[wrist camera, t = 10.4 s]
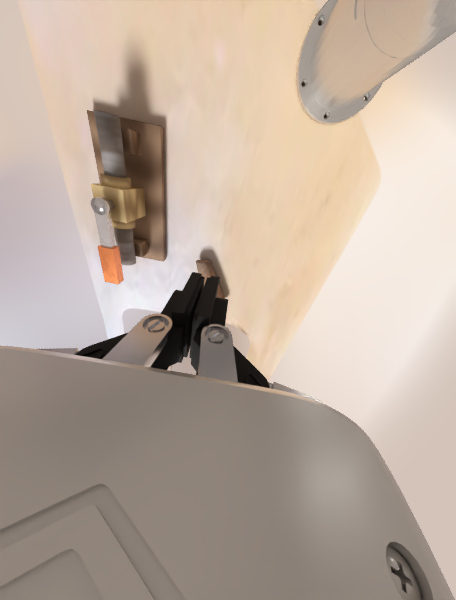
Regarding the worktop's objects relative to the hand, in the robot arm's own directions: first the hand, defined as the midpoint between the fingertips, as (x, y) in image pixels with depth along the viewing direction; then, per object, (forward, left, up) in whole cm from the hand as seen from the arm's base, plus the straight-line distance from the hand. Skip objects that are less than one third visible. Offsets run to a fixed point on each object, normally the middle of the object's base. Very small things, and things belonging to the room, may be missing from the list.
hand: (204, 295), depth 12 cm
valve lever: (+7, -20, -22) cm, 31 cm away
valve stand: (+1, -20, -32) cm, 38 cm away
